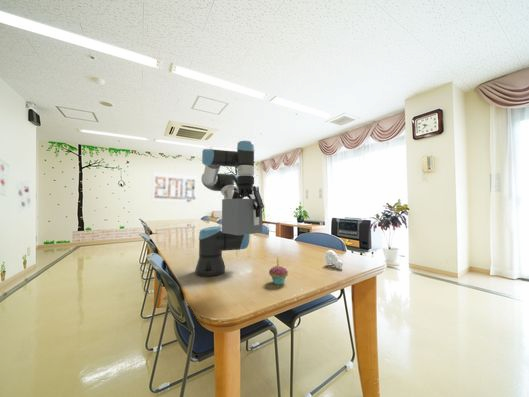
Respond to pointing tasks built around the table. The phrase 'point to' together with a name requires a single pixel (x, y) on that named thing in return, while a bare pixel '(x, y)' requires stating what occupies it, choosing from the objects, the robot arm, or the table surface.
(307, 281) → the table surface
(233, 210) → the grey chamfered box
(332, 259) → the white figurine
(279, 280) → the cupcake
